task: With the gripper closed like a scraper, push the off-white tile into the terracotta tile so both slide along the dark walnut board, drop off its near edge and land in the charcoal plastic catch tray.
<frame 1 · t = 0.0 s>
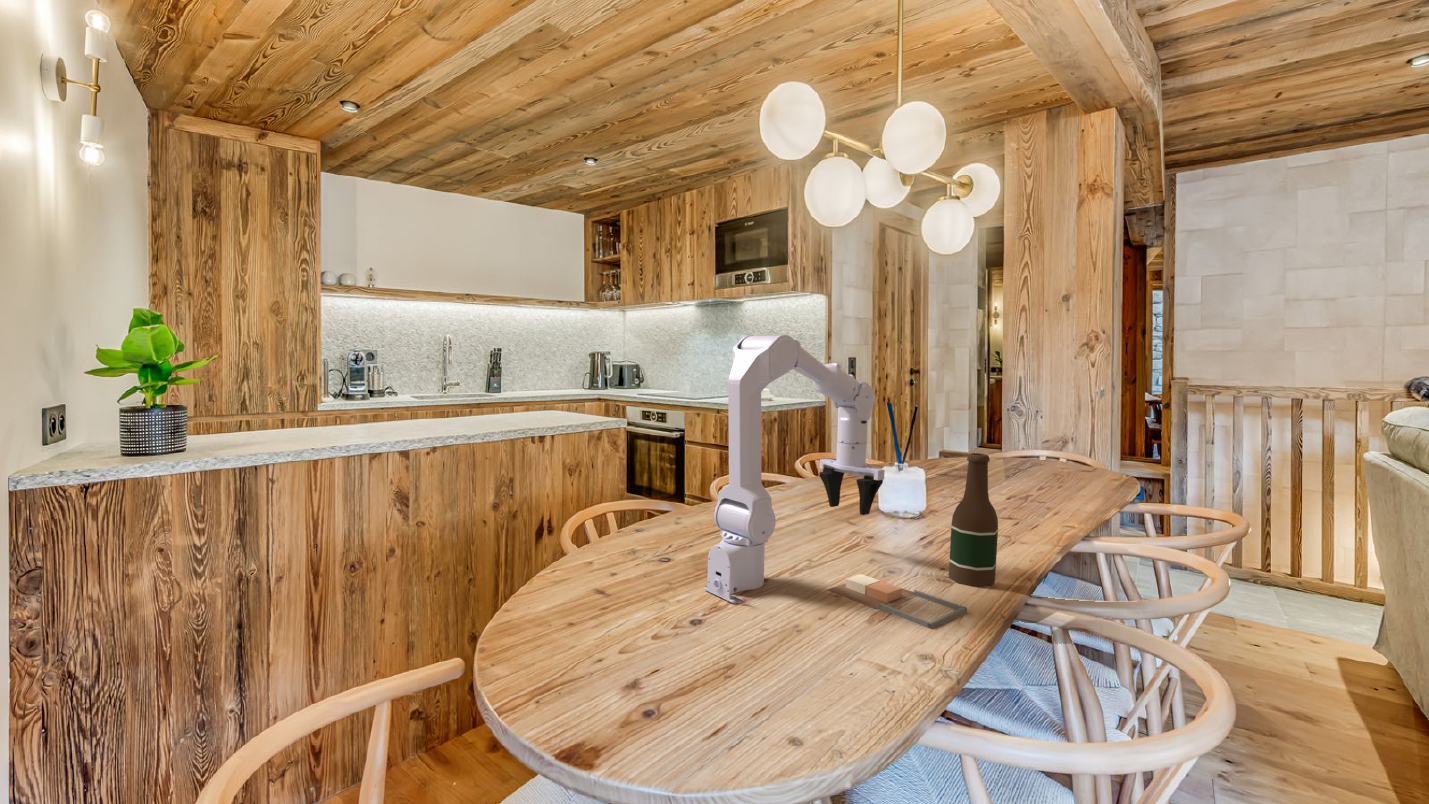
hand: (849, 510, 127), 10 cm above the table, fingers open, 7 cm apart
terracotta tile: (883, 596, 105), point 1 cm above the table, touching walnut board
catch tray: (922, 619, 100), on the table
beer bottle: (971, 588, 114), on the table
offwhite tile: (862, 588, 109), point 1 cm above the table, touching walnut board
walnut board: (871, 600, 107), on the table
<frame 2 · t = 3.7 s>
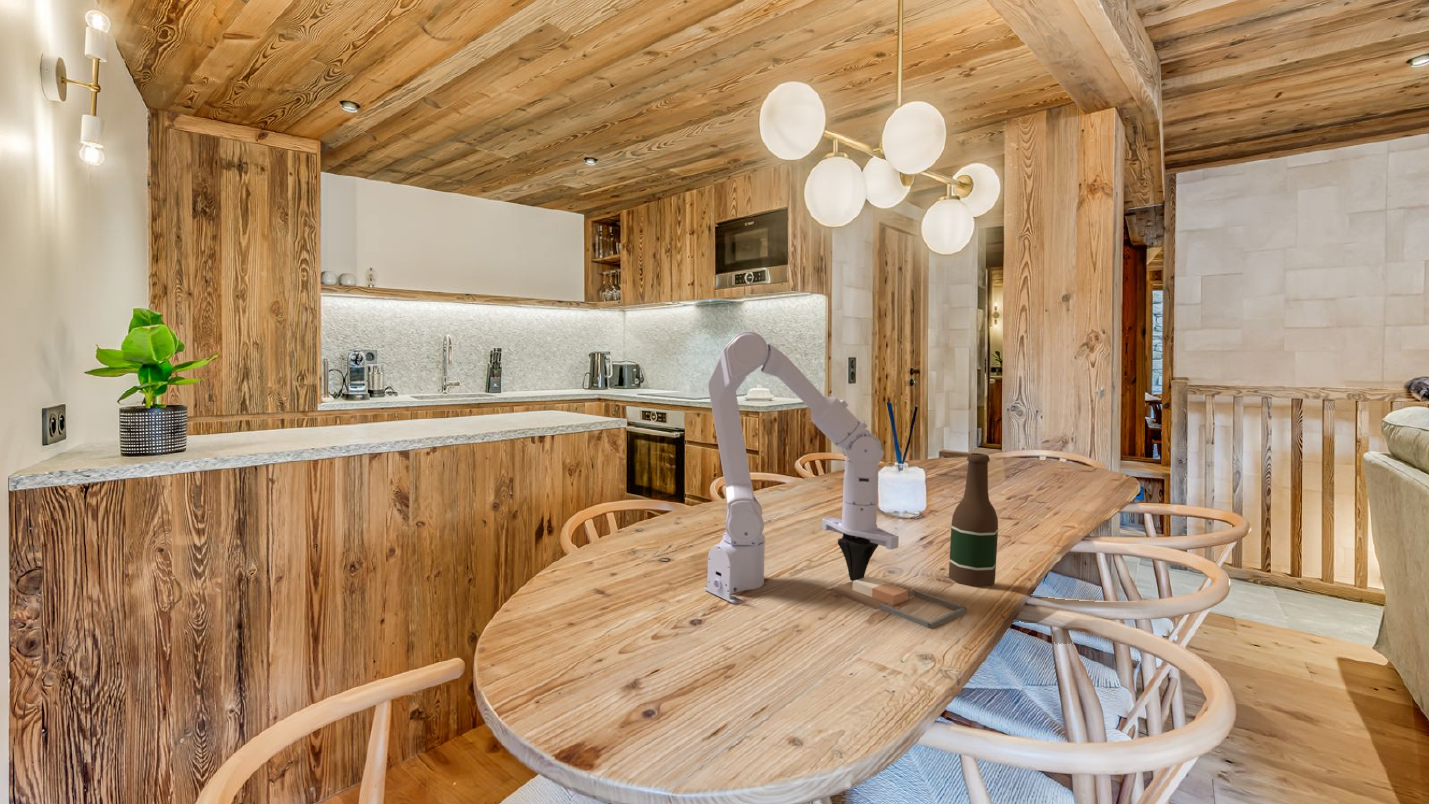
hand: (856, 580, 109), 3 cm above the table, fingers closed
terracotta tile: (889, 598, 104), point 1 cm above the table, touching catch tray, walnut board
offwhite tile: (869, 590, 107), point 2 cm above the table, touching gripper, walnut board
everything else where it was.
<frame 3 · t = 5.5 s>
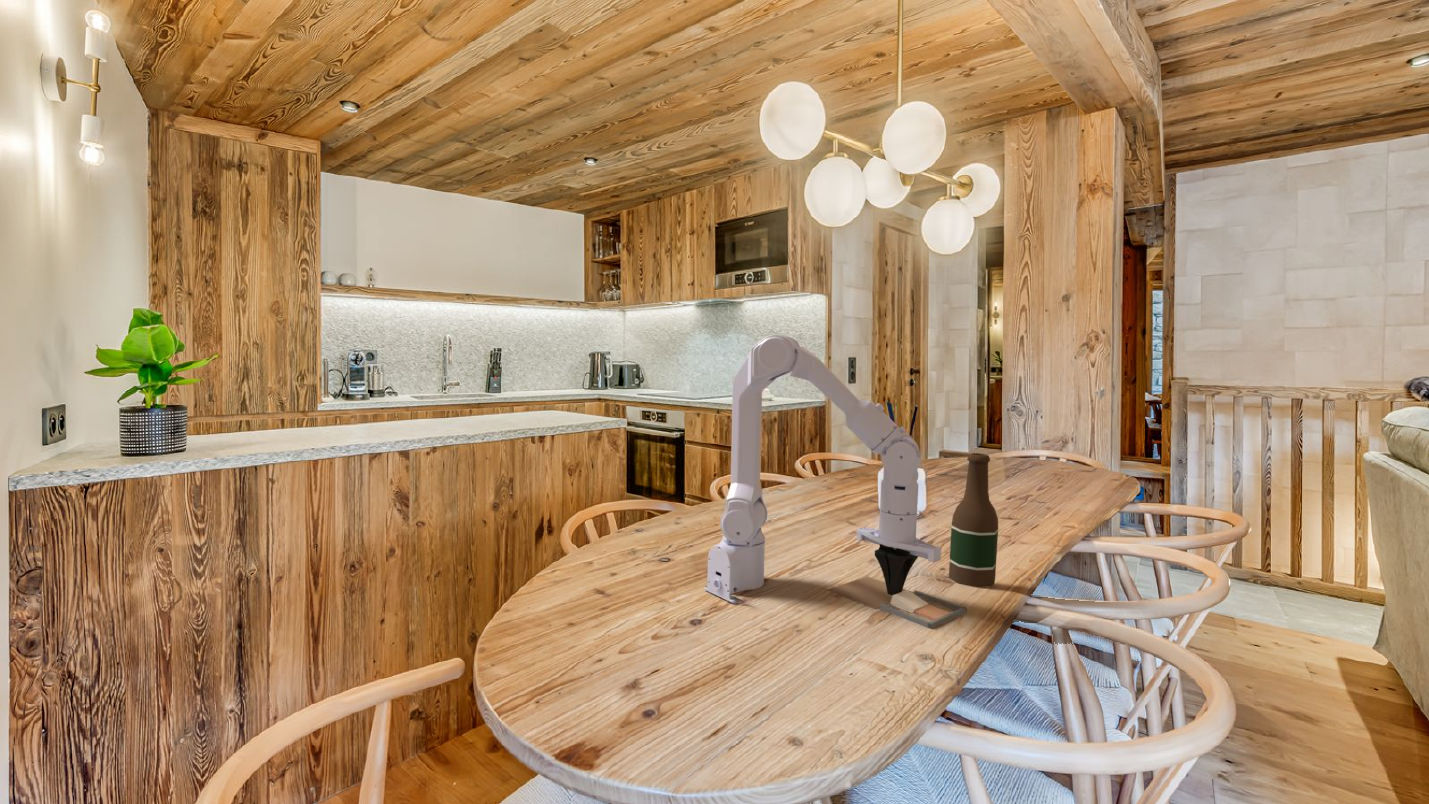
hand: (894, 593, 104), 3 cm above the table, fingers closed
terracotta tile: (932, 621, 99), resting on catch tray
offwhite tile: (907, 607, 102), point 1 cm above the table, tilted 15°, touching catch tray
everything else where it was.
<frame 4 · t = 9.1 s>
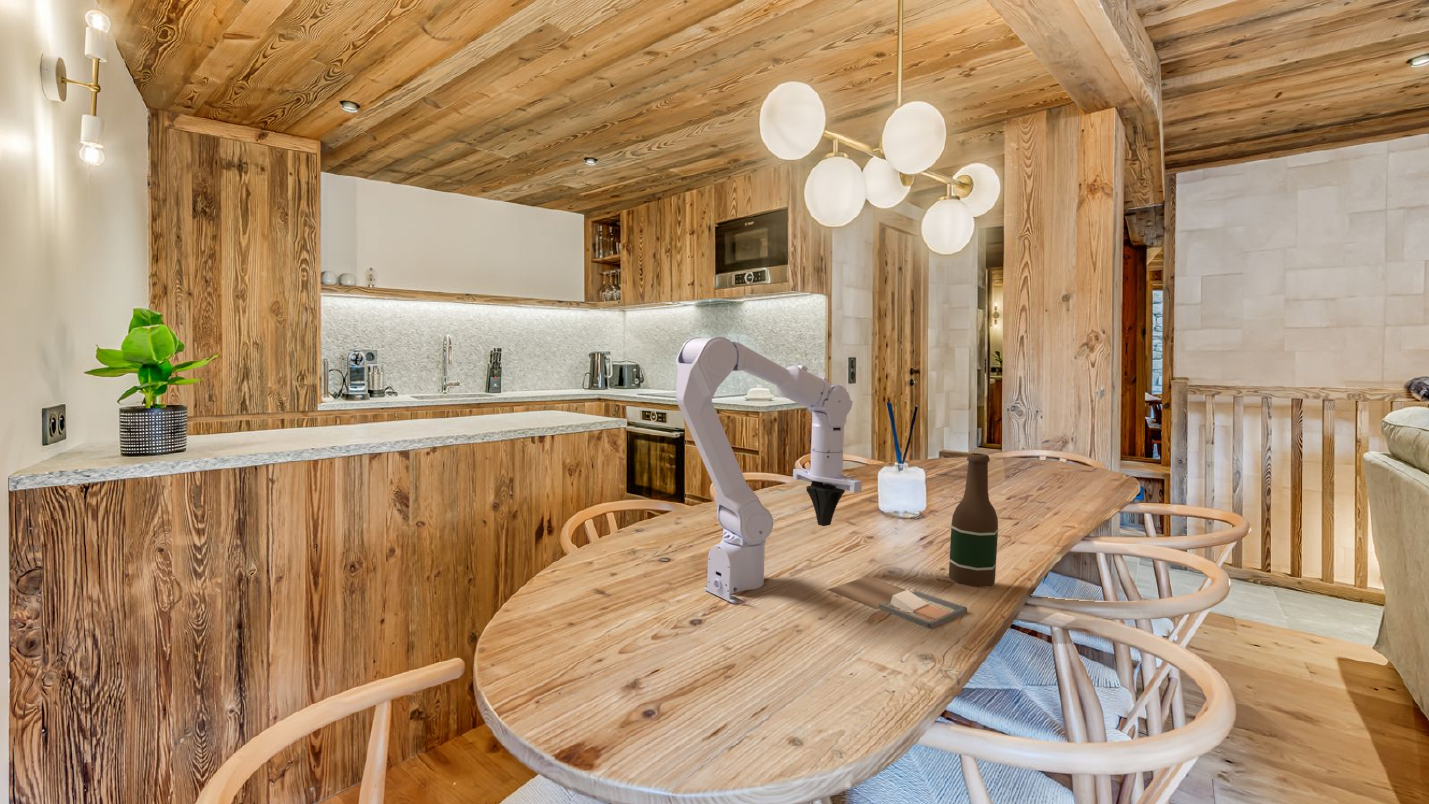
hand: (824, 524, 117), 10 cm above the table, fingers closed
terracotta tile: (932, 621, 99), resting on catch tray, touching offwhite tile
offwhite tile: (907, 607, 102), point 1 cm above the table, tilted 15°, touching catch tray, terracotta tile
everything else where it was.
at the end: offwhite tile inside the target area on the catch tray (3.0 cm from its centre), point 1.1 cm above the catch tray's base; terracotta tile inside the target area on the catch tray (1.4 cm from its centre), point 0.3 cm above the catch tray's base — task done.
